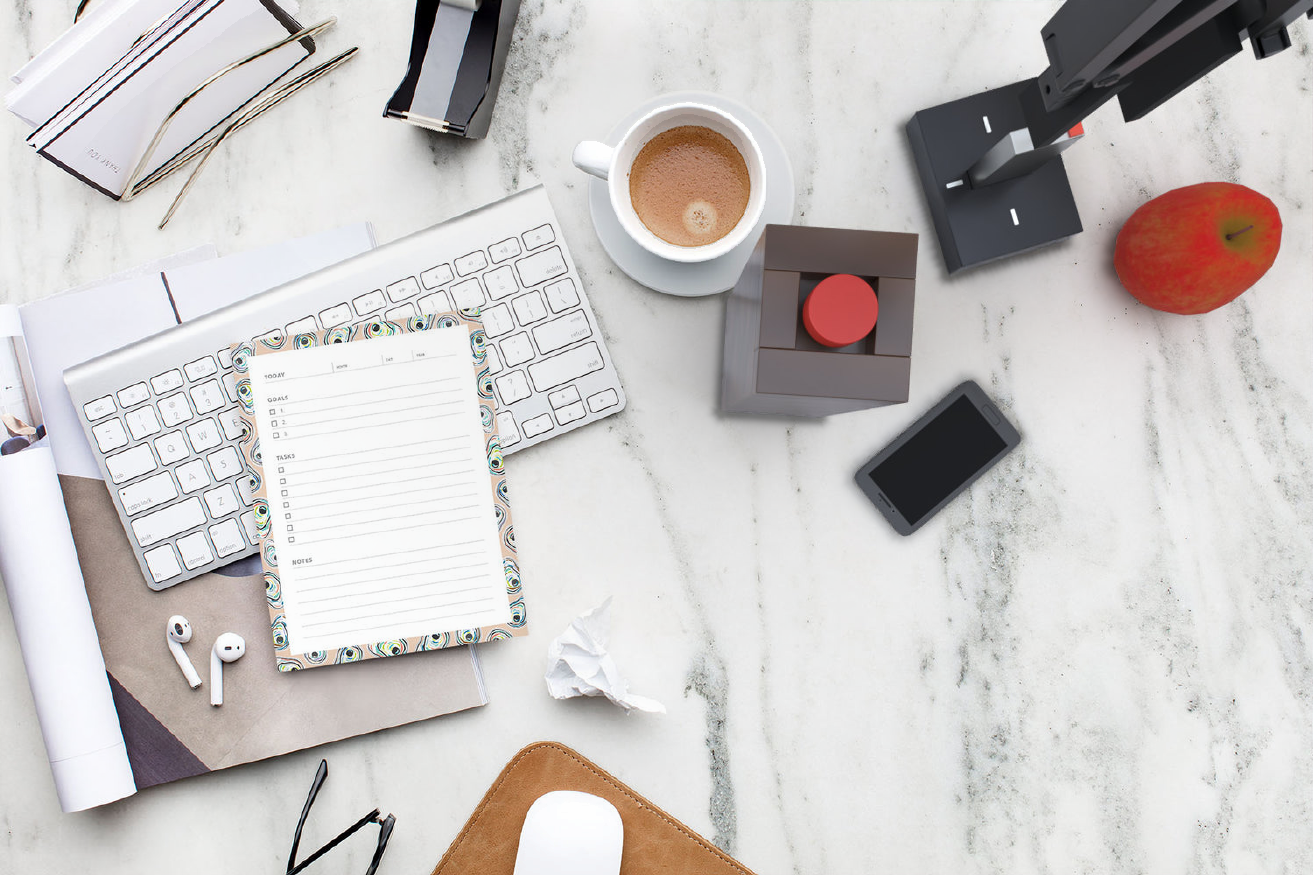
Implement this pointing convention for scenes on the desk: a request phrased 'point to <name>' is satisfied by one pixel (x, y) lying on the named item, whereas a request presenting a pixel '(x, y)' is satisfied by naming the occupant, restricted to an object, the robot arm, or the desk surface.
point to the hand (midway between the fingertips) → (1079, 106)
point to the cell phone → (937, 458)
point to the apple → (1197, 247)
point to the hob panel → (992, 213)
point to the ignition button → (840, 310)
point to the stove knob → (1018, 156)
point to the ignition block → (778, 344)
